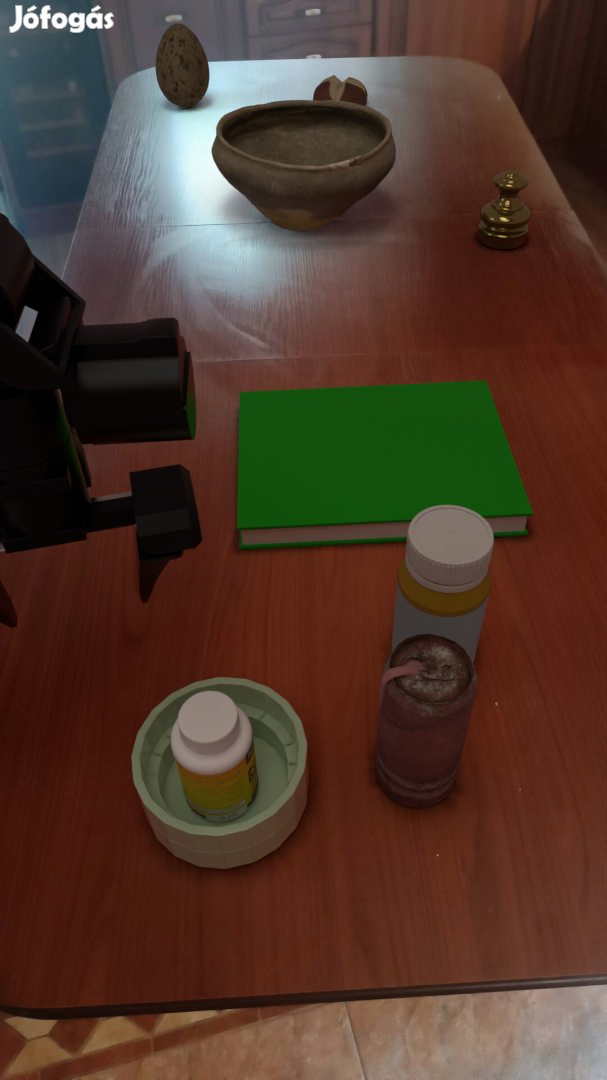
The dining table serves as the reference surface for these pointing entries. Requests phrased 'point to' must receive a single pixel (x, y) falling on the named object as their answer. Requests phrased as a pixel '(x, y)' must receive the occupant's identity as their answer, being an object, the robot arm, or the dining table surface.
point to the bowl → (304, 158)
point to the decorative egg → (182, 67)
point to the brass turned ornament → (505, 214)
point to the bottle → (444, 576)
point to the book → (371, 463)
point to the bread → (341, 90)
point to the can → (423, 718)
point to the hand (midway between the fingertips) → (80, 610)
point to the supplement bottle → (215, 756)
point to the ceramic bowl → (276, 767)
